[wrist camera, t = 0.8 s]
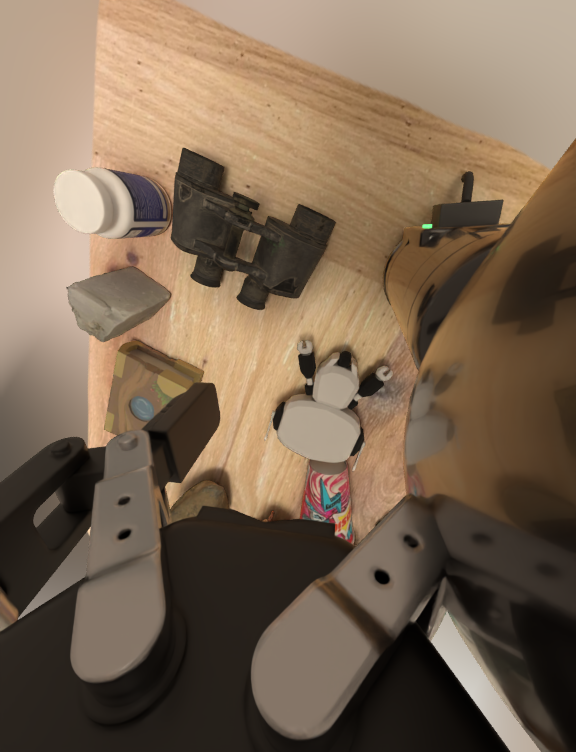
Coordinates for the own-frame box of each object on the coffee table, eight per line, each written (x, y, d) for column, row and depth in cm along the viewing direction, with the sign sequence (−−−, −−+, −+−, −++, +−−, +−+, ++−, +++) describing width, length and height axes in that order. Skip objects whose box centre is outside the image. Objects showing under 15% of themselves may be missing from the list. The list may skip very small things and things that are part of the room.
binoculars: (295, 318, 37) (284, 335, 31) (171, 258, 36) (138, 265, 31) (338, 222, 31) (334, 222, 26) (194, 151, 31) (159, 136, 26)
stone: (194, 456, 50) (168, 495, 42) (245, 480, 50) (226, 522, 43) (173, 517, 58) (147, 558, 51) (216, 537, 58) (196, 581, 51)
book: (178, 444, 49) (161, 465, 45) (115, 413, 49) (91, 432, 45) (204, 371, 42) (186, 388, 38) (130, 334, 42) (104, 348, 38)
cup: (374, 466, 41) (367, 536, 45) (327, 439, 47) (325, 503, 51) (322, 497, 35) (320, 574, 39) (278, 462, 42) (279, 532, 46)
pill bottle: (133, 165, 33) (52, 144, 24) (180, 196, 33) (117, 187, 24) (120, 217, 35) (42, 216, 27) (163, 246, 36) (101, 254, 27)
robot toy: (299, 329, 38) (269, 428, 44) (293, 338, 34) (261, 446, 40) (396, 360, 37) (352, 456, 43) (402, 374, 33) (352, 478, 39)
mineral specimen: (104, 253, 37) (62, 266, 30) (176, 284, 39) (152, 303, 32) (94, 308, 40) (55, 331, 33) (161, 334, 42) (137, 361, 35)
